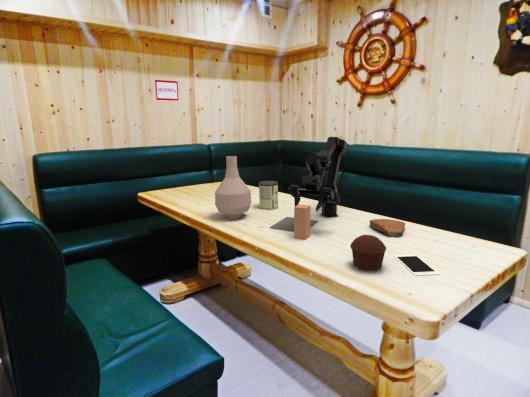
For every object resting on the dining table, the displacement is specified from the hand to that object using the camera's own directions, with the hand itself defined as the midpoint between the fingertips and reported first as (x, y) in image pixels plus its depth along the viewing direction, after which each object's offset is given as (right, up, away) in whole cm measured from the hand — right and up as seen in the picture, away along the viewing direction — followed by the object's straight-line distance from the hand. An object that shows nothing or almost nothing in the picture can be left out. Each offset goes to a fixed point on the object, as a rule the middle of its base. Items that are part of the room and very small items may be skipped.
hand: (305, 209), depth 147 cm
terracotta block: (-2, -11, -1) cm, 11 cm away
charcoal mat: (-3, -7, +16) cm, 18 cm away
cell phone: (+33, -18, -29) cm, 47 cm away
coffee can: (-15, -1, +47) cm, 49 cm away
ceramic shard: (+35, -10, +4) cm, 36 cm away
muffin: (+17, -18, -29) cm, 38 cm away
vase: (-32, -5, +30) cm, 44 cm away
